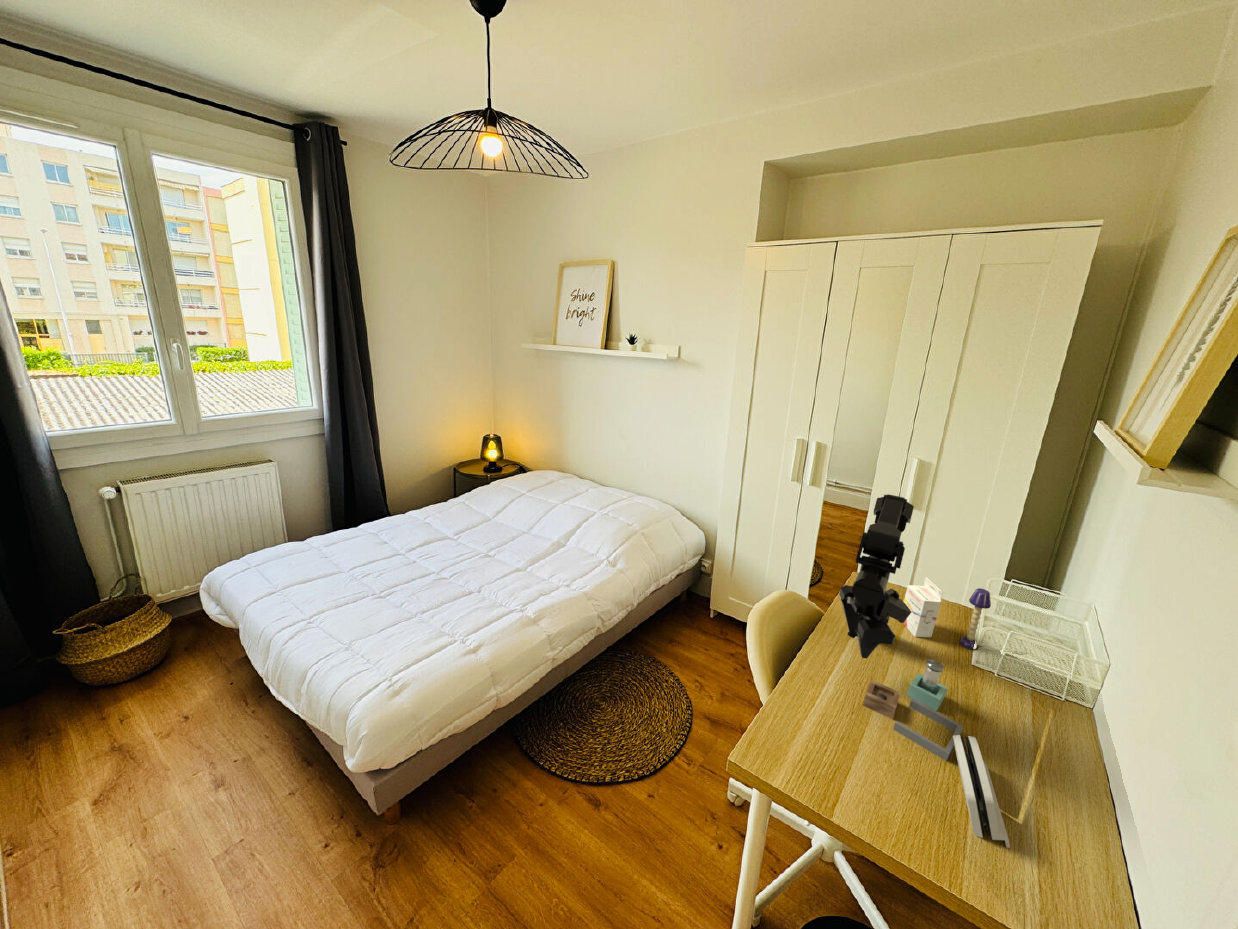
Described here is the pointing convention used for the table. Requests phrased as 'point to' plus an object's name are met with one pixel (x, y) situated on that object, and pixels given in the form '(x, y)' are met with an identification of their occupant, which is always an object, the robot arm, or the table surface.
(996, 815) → the grey slotted housing
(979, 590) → the toy lamp
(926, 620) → the ink cartridge box
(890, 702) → the walnut block
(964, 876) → the table surface
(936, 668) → the metal cylinder peg
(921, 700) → the teal block
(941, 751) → the grey u-shaped bracket
